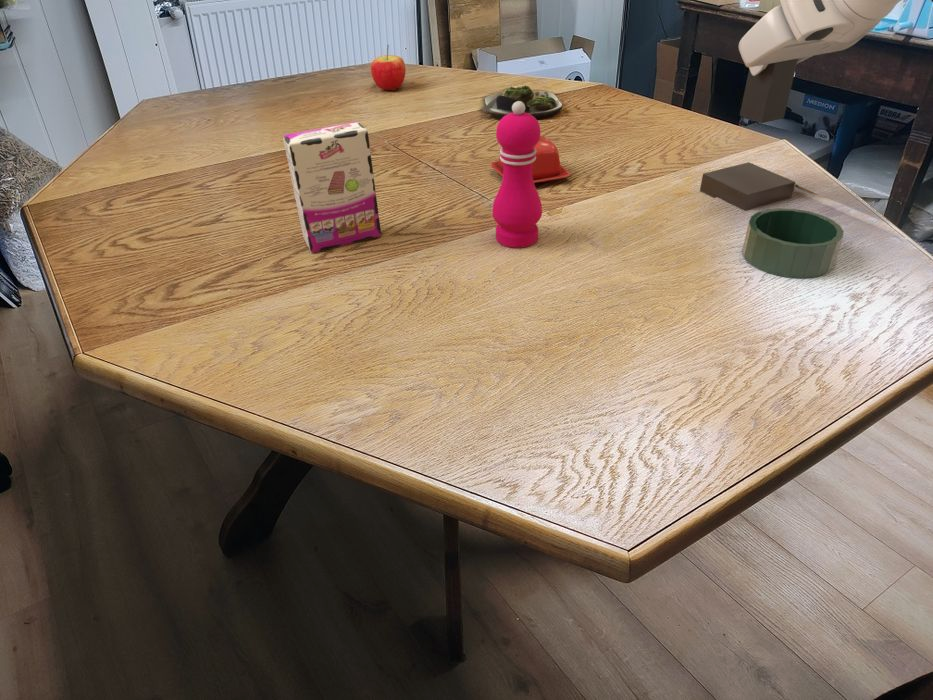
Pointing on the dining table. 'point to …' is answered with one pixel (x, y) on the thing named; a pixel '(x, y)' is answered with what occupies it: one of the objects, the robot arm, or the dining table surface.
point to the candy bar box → (333, 185)
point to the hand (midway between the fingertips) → (768, 68)
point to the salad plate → (534, 101)
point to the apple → (388, 71)
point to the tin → (792, 243)
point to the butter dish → (542, 163)
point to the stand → (747, 186)
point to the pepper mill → (517, 180)
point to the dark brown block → (768, 92)
